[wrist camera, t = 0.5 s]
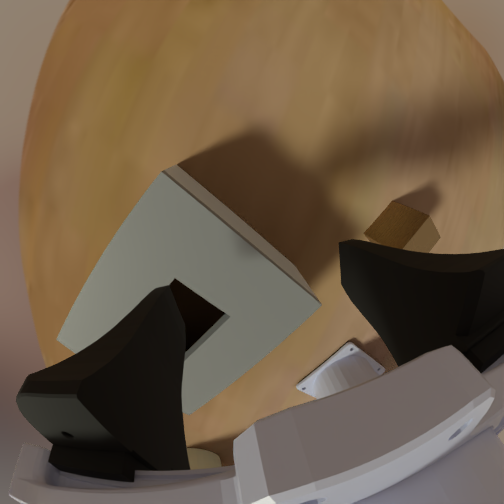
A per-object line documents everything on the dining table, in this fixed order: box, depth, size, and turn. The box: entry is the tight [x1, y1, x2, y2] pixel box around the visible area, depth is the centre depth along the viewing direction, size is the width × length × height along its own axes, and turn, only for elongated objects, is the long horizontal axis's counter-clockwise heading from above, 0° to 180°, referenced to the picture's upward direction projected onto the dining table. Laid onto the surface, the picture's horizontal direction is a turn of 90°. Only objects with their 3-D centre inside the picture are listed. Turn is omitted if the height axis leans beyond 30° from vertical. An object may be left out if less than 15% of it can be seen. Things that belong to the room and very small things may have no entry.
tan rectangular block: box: [364, 201, 440, 253], centre depth 20 cm, size 2×4×5 cm, turn 137°
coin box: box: [57, 164, 322, 415], centre depth 18 cm, size 12×14×6 cm
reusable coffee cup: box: [187, 448, 222, 470], centre depth 25 cm, size 13×13×15 cm
